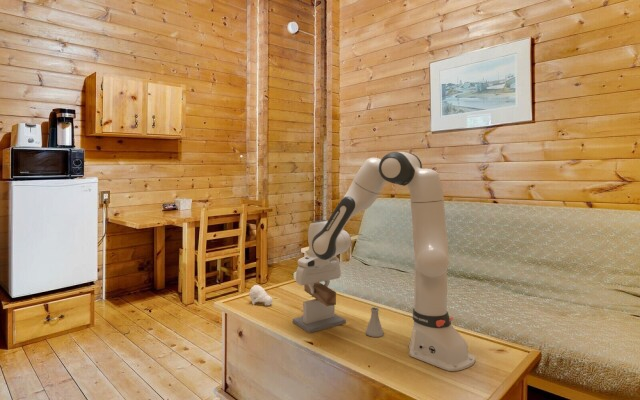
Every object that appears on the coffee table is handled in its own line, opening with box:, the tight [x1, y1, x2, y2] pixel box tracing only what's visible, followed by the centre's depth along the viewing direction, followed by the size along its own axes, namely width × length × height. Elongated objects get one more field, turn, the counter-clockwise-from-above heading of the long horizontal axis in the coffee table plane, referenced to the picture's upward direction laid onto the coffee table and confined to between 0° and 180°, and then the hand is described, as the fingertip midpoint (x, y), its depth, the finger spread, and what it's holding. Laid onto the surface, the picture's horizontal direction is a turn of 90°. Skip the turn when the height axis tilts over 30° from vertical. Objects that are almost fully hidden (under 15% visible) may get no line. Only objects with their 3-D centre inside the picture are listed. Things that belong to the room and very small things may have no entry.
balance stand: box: [292, 298, 347, 334], centre depth 160 cm, size 13×18×10 cm
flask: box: [365, 306, 385, 338], centre depth 149 cm, size 7×7×10 cm
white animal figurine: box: [248, 284, 274, 306], centre depth 183 cm, size 6×8×12 cm
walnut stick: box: [303, 282, 337, 306], centre depth 159 cm, size 4×22×5 cm, turn 25°
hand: (319, 291), depth 159 cm, fingers closed on walnut stick, 4 cm apart
